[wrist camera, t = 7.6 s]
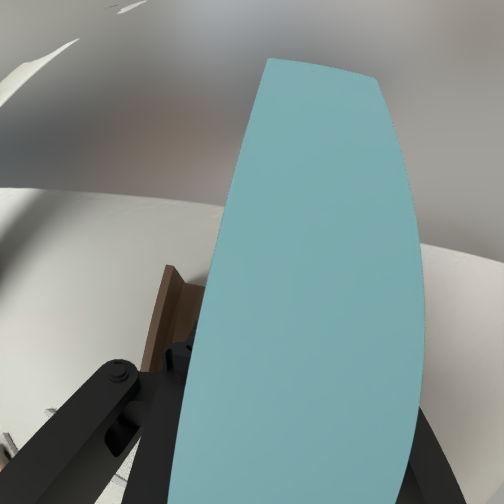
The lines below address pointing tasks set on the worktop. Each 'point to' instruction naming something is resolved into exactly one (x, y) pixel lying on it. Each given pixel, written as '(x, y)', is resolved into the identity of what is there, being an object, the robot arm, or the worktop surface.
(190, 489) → the tall board
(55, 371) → the worktop surface
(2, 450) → the packaged product
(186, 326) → the rack
